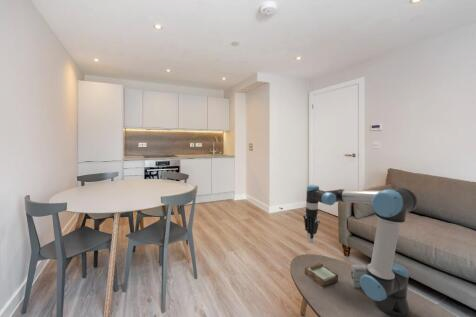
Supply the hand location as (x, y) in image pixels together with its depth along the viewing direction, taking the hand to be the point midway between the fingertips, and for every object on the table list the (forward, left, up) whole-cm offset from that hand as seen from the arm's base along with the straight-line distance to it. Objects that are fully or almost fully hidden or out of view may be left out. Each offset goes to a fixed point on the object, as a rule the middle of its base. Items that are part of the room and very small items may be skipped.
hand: (310, 242), depth 148 cm
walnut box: (-11, 0, -18) cm, 21 cm away
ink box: (-26, -15, -19) cm, 35 cm away
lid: (-11, 0, -16) cm, 19 cm away
